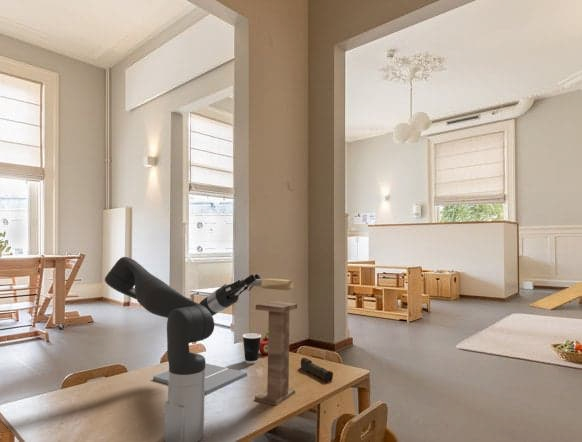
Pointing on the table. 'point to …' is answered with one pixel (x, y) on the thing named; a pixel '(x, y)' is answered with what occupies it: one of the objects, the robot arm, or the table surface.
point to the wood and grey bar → (273, 284)
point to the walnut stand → (277, 352)
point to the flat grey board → (211, 377)
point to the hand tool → (316, 370)
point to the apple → (264, 345)
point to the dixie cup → (251, 347)
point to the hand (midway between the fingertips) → (256, 276)
